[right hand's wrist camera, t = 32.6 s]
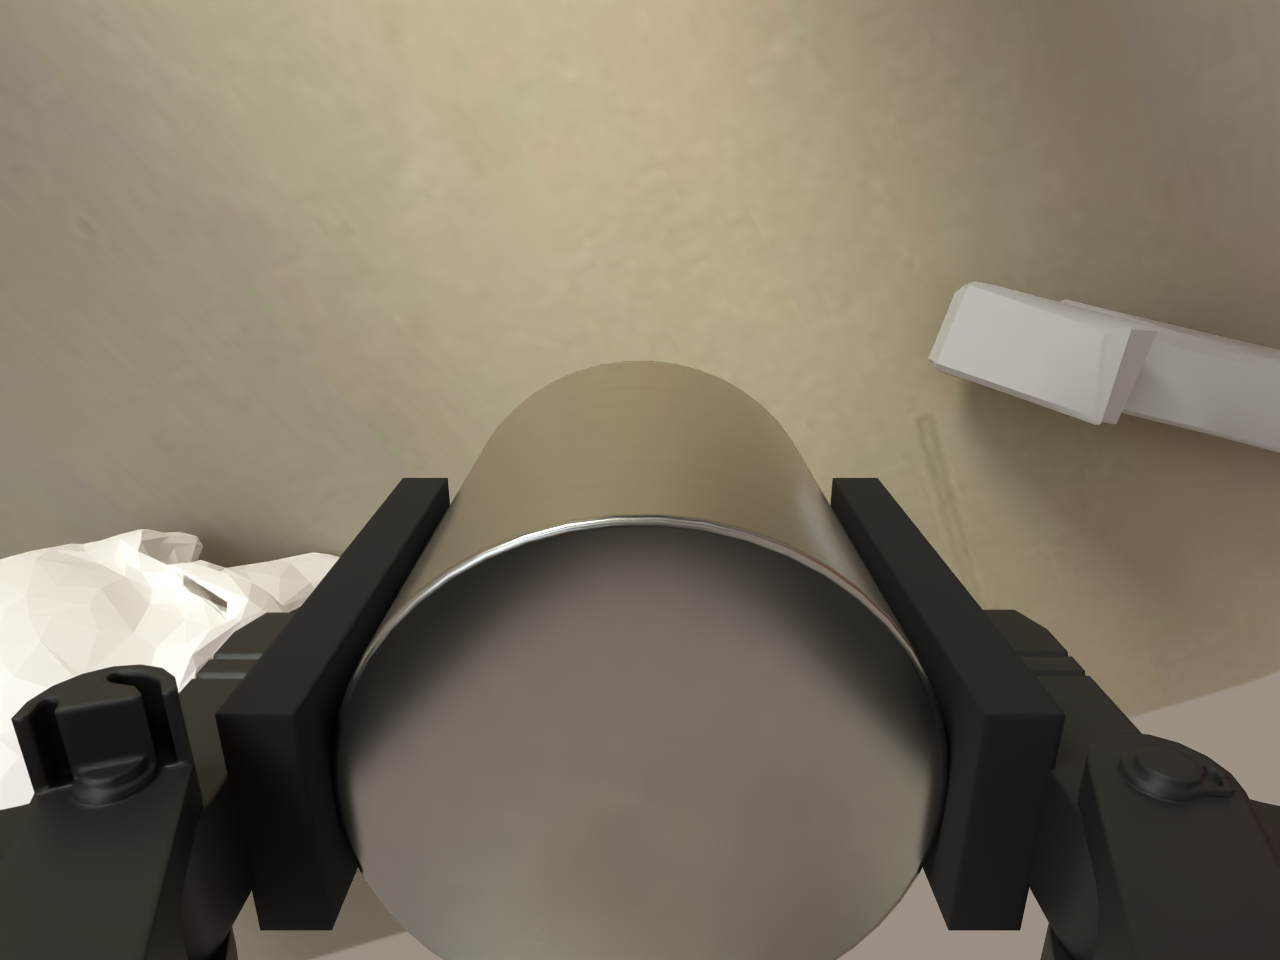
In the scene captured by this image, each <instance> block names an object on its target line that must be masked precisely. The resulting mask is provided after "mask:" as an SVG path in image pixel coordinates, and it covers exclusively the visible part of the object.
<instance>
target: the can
mask: <svg viewBox="0 0 1280 960" xmlns="http://www.w3.org/2000/svg"><path fill="white" fill-rule="evenodd" d="M947 782H948V751H947V739H946V734H945V728H944V723H943V717H942V712H941V708H940V706H939V703H938V700H937V697H936V694H935V692H934V689H933V686H932V683H931V680H930V678H929V676H928V674H927V672H926V670H925V669H924V667H923V665H922V663H921V661H920V659H919V658H918V656H917V654H916V652H915V650H914V648H913V647H912V645H911V643H910V642H909V640H908V638H907V636H906V635H905V633H904V631H903V630H902V628H901V626H900V624H899V623H898V621H897V619H896V618H895V616H894V614H893V612H892V611H891V609H890V607H889V606H888V604H887V602H886V600H885V599H884V597H883V595H882V594H881V592H880V590H879V588H878V587H877V585H876V583H875V582H874V580H873V578H872V576H871V575H870V573H869V571H868V570H867V568H866V566H865V564H864V563H863V561H862V559H861V558H860V556H859V554H858V552H857V551H856V549H855V547H854V546H853V544H852V542H851V540H850V539H849V537H848V535H847V534H846V532H845V530H844V528H843V527H842V525H841V523H840V522H839V520H838V518H837V517H836V515H835V513H834V511H833V510H832V508H831V506H830V505H829V503H828V501H827V499H826V498H825V496H824V494H823V493H822V491H821V489H820V487H819V486H818V484H817V482H816V481H815V479H814V477H813V475H812V474H811V472H810V470H809V469H808V467H807V465H806V463H805V462H804V460H803V458H802V457H801V455H800V453H799V451H798V450H797V448H796V446H795V445H794V443H793V441H792V439H791V438H790V437H789V436H788V434H787V433H786V432H785V430H784V429H783V428H782V426H781V425H780V424H779V422H778V421H777V420H776V419H775V418H774V417H773V416H772V415H771V414H770V413H769V412H768V411H767V410H766V409H765V408H764V407H763V406H762V405H761V404H759V403H758V402H757V401H755V400H754V399H753V398H752V397H750V396H749V395H748V394H746V393H745V392H744V391H742V390H740V389H739V388H737V387H735V386H733V385H731V384H730V383H728V382H726V381H724V380H723V379H720V378H718V377H715V376H713V375H710V374H708V373H705V372H703V371H700V370H697V369H693V368H690V367H686V366H682V365H678V364H672V363H664V362H655V361H623V362H616V363H609V364H602V365H598V366H595V367H591V368H587V369H584V370H580V371H577V372H575V373H572V374H570V375H567V376H565V377H563V378H560V379H558V380H556V381H554V382H552V383H550V384H549V385H547V386H545V387H544V388H542V389H540V390H539V391H537V392H535V393H534V394H533V395H531V396H530V397H529V398H528V399H526V400H525V401H524V402H522V403H521V404H520V405H519V406H517V407H516V408H515V409H514V410H513V411H512V412H511V413H510V414H509V416H508V417H507V418H506V419H505V420H504V421H503V422H502V423H501V424H500V425H499V427H498V428H497V429H496V431H495V432H494V433H493V435H492V436H491V438H490V439H489V440H488V442H487V443H486V445H485V447H484V448H483V450H482V452H481V454H480V455H479V457H478V459H477V460H476V462H475V464H474V466H473V467H472V469H471V471H470V472H469V474H468V476H467V477H466V479H465V481H464V483H463V484H462V486H461V488H460V489H459V491H458V493H457V495H456V496H455V498H454V500H453V501H452V503H451V505H450V507H449V508H448V510H447V512H446V513H445V515H444V517H443V519H442V520H441V522H440V524H439V525H438V527H437V529H436V531H435V532H434V534H433V536H432V537H431V539H430V541H429V542H428V544H427V546H426V548H425V549H424V551H423V553H422V554H421V556H420V558H419V560H418V561H417V563H416V565H415V566H414V568H413V570H412V572H411V573H410V575H409V577H408V578H407V580H406V582H405V584H404V585H403V587H402V589H401V590H400V592H399V594H398V595H397V597H396V599H395V601H394V602H393V604H392V606H391V607H390V609H389V611H388V613H387V614H386V616H385V618H384V619H383V621H382V623H381V625H380V626H379V628H378V630H377V631H376V633H375V635H374V637H373V638H372V640H371V642H370V643H369V645H368V647H367V648H366V650H365V652H364V654H363V656H362V658H361V660H360V662H359V664H358V666H357V667H356V669H355V671H354V673H353V675H352V677H351V679H350V681H349V683H348V686H347V689H346V692H345V695H344V698H343V701H342V704H341V707H340V710H339V714H338V717H337V724H336V730H335V737H334V743H333V788H334V794H335V800H336V805H337V811H338V817H339V821H340V824H341V827H342V830H343V833H344V836H345V839H346V841H347V844H348V847H349V850H350V852H351V854H352V856H353V858H354V860H355V862H356V864H357V866H358V868H359V870H360V871H361V873H362V875H363V877H364V879H365V880H366V882H367V883H368V885H369V886H370V888H371V889H372V890H373V892H374V893H375V895H376V896H377V897H378V899H379V900H380V902H381V903H382V905H383V906H384V907H385V908H386V909H387V910H388V911H389V912H390V913H391V914H392V916H393V917H394V918H395V919H396V920H397V921H398V922H399V923H400V924H401V925H402V926H403V927H404V929H405V930H407V931H408V932H409V933H410V934H411V935H412V936H414V937H415V938H416V939H417V940H418V941H420V942H421V943H422V944H423V945H424V946H425V947H427V948H428V949H429V950H430V951H431V952H433V953H434V954H436V955H437V956H439V957H440V958H442V959H444V960H837V959H839V958H840V957H841V956H843V955H844V954H846V953H847V952H849V951H850V950H851V949H853V948H854V947H855V946H856V945H858V944H859V943H860V942H861V941H862V940H863V939H864V938H866V937H867V936H868V935H869V934H870V933H871V932H872V931H874V930H875V929H876V928H877V927H878V926H879V925H880V924H881V923H882V922H883V920H884V919H885V918H886V917H887V916H888V915H889V914H890V913H891V911H892V910H893V909H894V908H895V907H896V906H897V905H898V904H899V902H900V901H901V900H902V898H903V897H904V895H905V894H906V893H907V891H908V890H909V888H910V887H911V885H912V884H913V882H914V881H915V879H916V878H917V876H918V875H919V873H920V871H921V869H922V867H923V865H924V863H925V861H926V858H927V856H928V854H929V852H930V850H931V848H932V846H933V844H934V840H935V837H936V834H937V831H938V828H939V824H940V821H941V818H942V815H943V809H944V802H945V795H946V788H947Z"/></svg>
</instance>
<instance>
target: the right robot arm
mask: <svg viewBox="0 0 1280 960" xmlns="http://www.w3.org/2000/svg"><path fill="white" fill-rule="evenodd" d="M449 507H450V500H449V488H448V478H403V479H402V480H401V481H400V483H399V484H398V485H397V486H396V488H395V489H394V490H393V491H392V493H391V494H390V495H389V496H388V498H387V499H386V500H385V501H384V503H383V504H382V505H381V506H380V508H379V509H378V510H377V511H376V513H375V514H374V515H373V516H372V518H371V519H370V520H369V521H368V523H367V524H366V525H365V527H364V528H363V529H362V530H361V532H360V533H359V534H358V535H357V537H356V538H355V539H354V540H353V542H352V543H351V544H350V545H349V547H348V548H347V549H346V550H345V552H344V553H343V554H342V555H341V557H340V558H339V559H338V560H337V562H336V563H335V564H334V565H333V567H332V568H331V569H330V570H329V572H328V573H327V574H326V575H325V577H324V578H323V579H322V580H321V582H320V583H319V584H318V585H317V587H316V588H315V589H314V590H313V592H312V593H311V594H310V596H309V597H308V598H307V599H306V601H305V602H304V603H303V604H302V606H301V607H300V608H299V609H298V611H297V612H267V613H265V614H263V615H262V616H260V617H258V618H257V619H255V620H253V621H252V622H250V623H248V624H247V625H245V626H243V627H242V628H240V629H238V630H237V631H235V632H234V633H233V634H232V635H231V636H230V637H229V638H228V639H227V640H226V641H225V643H224V644H223V645H222V646H221V647H220V648H219V649H218V650H217V651H216V653H215V654H214V657H213V659H209V660H208V661H207V663H206V664H205V665H204V666H203V667H202V668H201V669H200V670H199V671H198V673H197V674H196V679H191V680H190V681H189V683H188V684H187V685H186V686H185V687H184V688H183V689H182V690H181V691H180V693H179V692H178V688H177V684H176V679H175V677H174V676H173V675H172V674H170V673H169V672H167V671H166V670H165V669H163V668H160V667H154V666H148V665H142V664H139V665H125V666H113V667H108V668H104V669H100V670H96V671H92V672H88V673H84V674H81V675H78V676H76V677H73V678H71V679H68V680H66V681H63V682H61V683H58V684H56V685H54V686H52V687H50V688H48V689H47V690H45V691H43V692H42V693H40V694H39V695H37V696H35V697H34V698H32V699H31V700H29V701H27V702H26V703H25V704H24V705H23V707H22V708H21V709H20V710H19V711H18V712H17V713H16V714H15V715H14V716H13V717H12V718H11V720H12V723H13V727H14V730H15V733H16V736H17V739H18V742H19V746H20V749H21V752H22V755H23V758H24V761H25V765H26V768H27V771H28V774H29V777H30V781H31V784H32V787H33V790H34V795H33V797H32V799H31V801H30V803H29V804H25V805H22V806H17V807H12V808H8V809H3V810H0V960H238V956H237V949H236V942H235V938H234V933H233V929H232V925H233V923H234V922H235V920H236V918H237V916H238V914H239V912H240V911H241V909H242V907H243V905H244V903H245V901H246V900H247V898H248V896H249V894H250V892H251V891H252V892H253V897H254V902H255V907H256V911H257V916H258V921H259V925H260V930H332V929H333V926H334V924H335V921H336V919H337V917H338V914H339V912H340V909H341V907H342V904H343V902H344V900H345V897H346V895H347V892H348V890H349V887H350V885H351V882H352V880H353V878H354V875H355V873H356V870H357V868H358V866H357V864H356V862H355V860H354V858H353V856H352V854H351V852H350V850H349V847H348V844H347V841H346V839H345V836H344V833H343V830H342V827H341V824H340V821H339V817H338V811H337V805H336V800H335V794H334V788H333V743H334V737H335V730H336V724H337V717H338V714H339V710H340V707H341V704H342V701H343V698H344V695H345V692H346V689H347V686H348V683H349V681H350V679H351V677H352V675H353V673H354V671H355V669H356V667H357V666H358V664H359V662H360V660H361V658H362V656H363V654H364V652H365V650H366V648H367V647H368V645H369V643H370V642H371V640H372V638H373V637H374V635H375V633H376V631H377V630H378V628H379V626H380V625H381V623H382V621H383V619H384V618H385V616H386V614H387V613H388V611H389V609H390V607H391V606H392V604H393V602H394V601H395V599H396V597H397V595H398V594H399V592H400V590H401V589H402V587H403V585H404V584H405V582H406V580H407V578H408V577H409V575H410V573H411V572H412V570H413V568H414V566H415V565H416V563H417V561H418V560H419V558H420V556H421V554H422V553H423V551H424V549H425V548H426V546H427V544H428V542H429V541H430V539H431V537H432V536H433V534H434V532H435V531H436V529H437V527H438V525H439V524H440V522H441V520H442V519H443V517H444V515H445V513H446V512H447V510H448V508H449ZM831 508H832V510H833V511H834V513H835V515H836V517H837V518H838V520H839V522H840V523H841V525H842V527H843V528H844V530H845V532H846V534H847V535H848V537H849V539H850V540H851V542H852V544H853V546H854V547H855V549H856V551H857V552H858V554H859V556H860V558H861V559H862V561H863V563H864V564H865V566H866V568H867V570H868V571H869V573H870V575H871V576H872V578H873V580H874V582H875V583H876V585H877V587H878V588H879V590H880V592H881V594H882V595H883V597H884V599H885V600H886V602H887V604H888V606H889V607H890V609H891V611H892V612H893V614H894V616H895V618H896V619H897V621H898V623H899V624H900V626H901V628H902V630H903V631H904V633H905V635H906V636H907V638H908V640H909V642H910V643H911V645H912V647H913V648H914V650H915V652H916V654H917V656H918V658H919V659H920V661H921V663H922V665H923V667H924V669H925V670H926V672H927V674H928V676H929V678H930V680H931V683H932V686H933V689H934V692H935V694H936V697H937V700H938V703H939V706H940V708H941V712H942V717H943V723H944V728H945V734H946V739H947V751H948V782H947V788H946V795H945V802H944V809H943V815H942V818H941V821H940V824H939V828H938V831H937V834H936V837H935V840H934V844H933V846H932V848H931V850H930V852H929V854H928V856H927V858H926V861H925V863H924V865H923V869H924V871H925V874H926V876H927V879H928V881H929V884H930V886H931V888H932V891H933V893H934V896H935V898H936V901H937V903H938V905H939V908H940V910H941V913H942V915H943V918H944V920H945V923H946V925H947V927H948V930H1020V928H1021V923H1022V919H1023V914H1024V909H1025V904H1026V900H1027V895H1028V891H1029V887H1030V889H1031V891H1032V893H1033V894H1034V896H1035V898H1036V900H1037V902H1038V903H1039V905H1040V907H1041V909H1042V911H1043V913H1044V914H1045V916H1046V918H1047V920H1048V922H1049V924H1048V929H1047V933H1046V938H1045V942H1044V946H1043V951H1042V955H1041V960H1280V806H1276V805H1272V804H1267V803H1262V802H1258V801H1254V800H1251V799H1249V798H1248V796H1247V794H1246V792H1245V791H1244V789H1243V788H1242V787H1241V786H1240V784H1239V783H1238V782H1237V780H1236V779H1235V778H1234V777H1233V775H1232V774H1231V773H1230V772H1228V771H1227V770H1225V769H1224V768H1223V767H1221V766H1220V765H1219V764H1217V763H1216V762H1214V761H1213V760H1212V759H1210V758H1209V757H1207V756H1205V755H1203V754H1201V753H1199V752H1197V751H1195V750H1193V749H1191V748H1188V747H1186V746H1184V745H1182V744H1180V743H1177V742H1174V741H1170V740H1166V739H1163V738H1159V737H1156V736H1152V735H1147V734H1142V733H1141V732H1140V731H1139V730H1138V729H1137V728H1136V727H1135V726H1134V725H1133V723H1132V722H1131V721H1130V720H1129V719H1128V718H1127V717H1126V716H1125V715H1124V713H1123V712H1122V711H1121V710H1120V709H1119V708H1118V707H1117V706H1116V705H1115V704H1114V702H1113V701H1112V700H1111V699H1110V698H1109V697H1108V696H1107V695H1106V694H1105V693H1104V691H1103V690H1102V689H1101V688H1100V687H1099V686H1098V685H1097V684H1096V683H1095V682H1094V680H1093V679H1092V678H1091V677H1090V676H1085V670H1084V669H1083V668H1082V667H1081V666H1080V665H1079V664H1078V663H1077V662H1076V661H1075V659H1074V658H1073V657H1068V652H1067V651H1066V650H1065V648H1064V647H1063V646H1062V645H1061V644H1060V643H1059V642H1058V641H1057V640H1056V639H1055V637H1054V636H1053V635H1052V634H1051V633H1050V632H1049V631H1048V630H1047V629H1046V628H1044V627H1042V626H1041V625H1039V624H1037V623H1036V622H1034V621H1032V620H1031V619H1029V618H1027V617H1026V616H1024V615H1022V614H1021V613H1019V612H1017V611H1016V610H982V609H981V607H980V606H979V605H978V604H977V602H976V601H975V600H974V599H973V597H972V596H971V595H970V594H969V592H968V591H967V590H966V589H965V587H964V586H963V585H962V583H961V582H960V581H959V580H958V578H957V577H956V576H955V575H954V573H953V572H952V571H951V570H950V568H949V567H948V566H947V565H946V563H945V562H944V561H943V560H942V558H941V557H940V556H939V555H938V553H937V552H936V551H935V550H934V548H933V547H932V546H931V545H930V543H929V542H928V541H927V540H926V538H925V537H924V536H923V535H922V533H921V532H920V531H919V530H918V528H917V527H916V526H915V525H914V523H913V522H912V521H911V520H910V518H909V517H908V516H907V515H906V513H905V512H904V511H903V509H902V508H901V507H900V506H899V504H898V503H897V502H896V501H895V499H894V498H893V497H892V496H891V494H890V493H889V492H888V491H887V489H886V488H885V487H884V486H883V484H882V483H881V482H880V481H879V479H878V478H833V483H832V495H831Z"/></svg>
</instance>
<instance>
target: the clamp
mask: <svg viewBox="0 0 1280 960" xmlns="http://www.w3.org/2000/svg"><path fill="white" fill-rule="evenodd" d="M928 359H929V360H930V361H931V363H932V364H933V365H934V367H935V368H937V369H938V370H939V371H941V372H942V373H946V374H949V375H952V376H956V377H959V378H963V379H966V380H970V381H973V382H975V383H978V384H981V385H984V386H987V387H990V388H992V389H995V390H998V391H1001V392H1004V393H1007V394H1010V395H1012V396H1015V397H1018V398H1021V399H1024V400H1027V401H1029V402H1032V403H1035V404H1038V405H1041V406H1044V407H1046V408H1049V409H1052V410H1055V411H1058V412H1061V413H1063V414H1066V415H1069V416H1072V417H1075V418H1078V419H1080V420H1083V421H1086V422H1089V423H1092V424H1095V425H1099V424H1101V423H1102V422H1104V423H1108V424H1111V425H1114V424H1117V422H1118V419H1119V417H1120V415H1121V413H1124V414H1128V415H1132V416H1135V417H1139V418H1143V419H1147V420H1151V421H1156V422H1160V423H1164V424H1168V425H1172V426H1176V427H1180V428H1185V429H1189V430H1193V431H1197V432H1201V433H1205V434H1209V435H1213V436H1217V437H1221V438H1225V439H1229V440H1232V441H1236V442H1240V443H1244V444H1247V445H1251V446H1255V447H1259V448H1262V449H1266V450H1270V451H1273V452H1277V453H1280V350H1279V349H1275V348H1271V347H1266V346H1262V345H1258V344H1253V343H1249V342H1245V341H1241V340H1236V339H1232V338H1228V337H1223V336H1219V335H1215V334H1211V333H1206V332H1202V331H1198V330H1194V329H1190V328H1185V327H1181V326H1177V325H1173V324H1168V323H1164V322H1160V321H1156V320H1151V319H1147V318H1143V317H1139V316H1135V315H1130V314H1126V313H1122V312H1118V311H1114V310H1109V309H1105V308H1101V307H1097V306H1092V305H1088V304H1084V303H1080V302H1076V301H1071V300H1067V299H1065V300H1062V301H1059V302H1058V301H1055V300H1051V299H1047V298H1043V297H1039V296H1035V295H1032V294H1028V293H1024V292H1020V291H1016V290H1013V289H1009V288H1005V287H1001V286H997V285H993V284H988V283H982V282H977V281H973V282H971V283H969V284H966V285H964V286H963V287H961V288H960V289H959V290H958V291H956V292H955V294H954V296H953V299H952V301H951V304H950V306H949V309H948V311H947V314H946V316H945V319H944V321H943V323H942V326H941V328H940V331H939V333H938V336H937V338H936V341H935V343H934V346H933V348H932V351H931V353H930V356H929V358H928Z"/></svg>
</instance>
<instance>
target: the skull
mask: <svg viewBox="0 0 1280 960" xmlns="http://www.w3.org/2000/svg"><path fill="white" fill-rule="evenodd" d="M202 548H203V545H202V543H201V542H200V540H199V538H198V537H197V536H195V535H190V534H186V533H182V532H167V533H163V532H158V531H154V530H149V529H141V530H136V531H131V532H127V533H123V534H119V535H116V536H113V537H110V538H107V539H104V540H101V541H96V542H90V543H85V544H67V545H62V546H56V547H51V548H45V549H40V550H34V551H29V552H25V553H22V554H18V555H14V556H11V557H7V558H3V559H0V810H3V809H8V808H12V807H17V806H22V805H25V804H29V803H30V801H31V799H32V797H33V795H34V790H33V787H32V784H31V781H30V777H29V774H28V771H27V768H26V765H25V761H24V758H23V755H22V752H21V749H20V746H19V742H18V739H17V736H16V733H15V730H14V727H13V723H12V720H11V718H12V717H13V716H14V715H15V714H16V713H17V712H18V711H19V710H20V709H21V708H22V707H23V705H24V704H25V703H26V702H27V701H29V700H31V699H32V698H34V697H35V696H37V695H39V694H40V693H42V692H43V691H45V690H47V689H48V688H50V687H52V686H54V685H56V684H58V683H61V682H63V681H66V680H68V679H71V678H73V677H76V676H78V675H81V674H84V673H88V672H92V671H96V670H100V669H104V668H108V667H113V666H125V665H139V664H142V665H148V666H154V667H160V668H163V669H165V670H166V671H167V672H169V673H170V674H172V675H173V676H174V677H175V679H176V684H177V688H178V692H179V693H180V691H181V690H182V689H183V688H184V687H185V686H186V685H187V684H188V683H189V681H190V680H191V679H196V674H197V673H198V671H199V670H200V669H201V668H202V667H203V666H204V665H205V664H206V663H207V661H208V660H209V659H213V657H214V654H215V653H216V651H217V650H218V649H219V648H220V647H221V646H222V645H223V644H224V643H225V641H226V640H227V639H228V638H229V637H230V636H231V635H232V634H233V633H234V632H235V631H237V630H238V629H240V628H242V627H243V626H245V625H247V624H248V623H250V622H252V621H253V620H255V619H257V618H258V617H260V616H262V615H263V614H265V613H267V612H291V611H293V610H295V609H297V608H299V607H301V606H302V604H303V603H304V602H305V601H306V599H307V598H308V597H309V596H310V594H311V593H312V592H313V590H314V589H315V588H316V587H317V585H318V584H319V583H320V582H321V580H322V579H323V578H324V577H325V575H326V574H327V573H328V572H329V570H330V569H331V568H332V567H333V565H334V564H335V563H336V562H337V560H338V559H339V558H340V557H338V556H334V555H330V554H323V553H314V552H313V553H308V554H303V555H298V556H293V557H288V558H283V559H278V560H273V561H268V562H262V563H255V564H248V565H242V566H235V567H229V568H225V567H222V566H218V565H215V564H212V563H209V562H206V561H203V560H198V559H199V556H200V553H201V551H202Z"/></svg>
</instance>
